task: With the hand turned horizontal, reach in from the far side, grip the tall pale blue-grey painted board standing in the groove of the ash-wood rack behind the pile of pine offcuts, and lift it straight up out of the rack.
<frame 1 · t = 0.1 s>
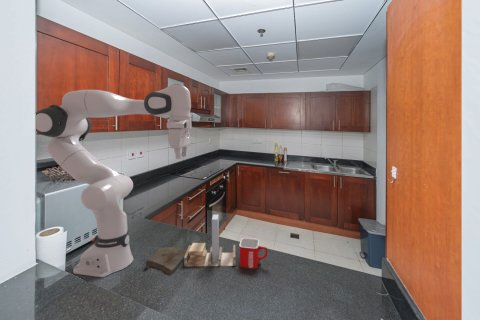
hand: (181, 157, 88), 48 cm above the worktop, tool pointing down, fingers open, 8 cm apart
mug: (253, 266, 92), on the worktop
offcut stack: (198, 259, 94), point 1 cm above the worktop, touching offcut rack
tall board: (215, 259, 94), point 1 cm above the worktop, touching offcut rack
brown flat slab: (166, 265, 93), on the worktop
offcut rack: (211, 262, 94), on the worktop
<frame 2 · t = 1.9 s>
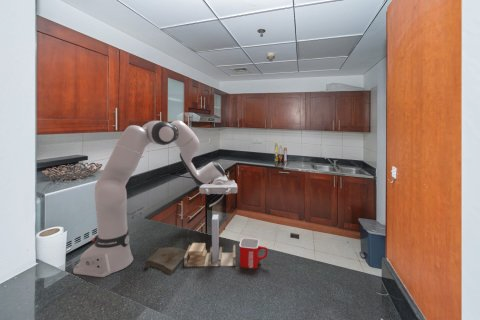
hand: (217, 193, 103), 29 cm above the worktop, tool horizontal, fingers open, 8 cm apart
nothing on the worktop moved.
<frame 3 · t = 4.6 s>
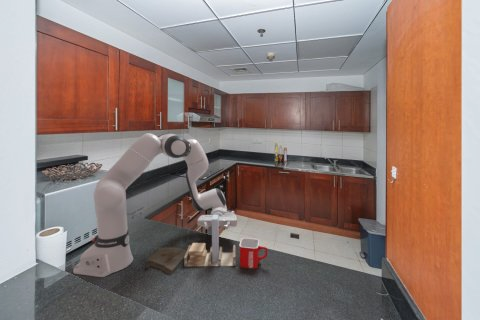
hand: (216, 227, 99), 13 cm above the worktop, tool horizontal, fingers open, 8 cm apart
nothing on the worktop moved.
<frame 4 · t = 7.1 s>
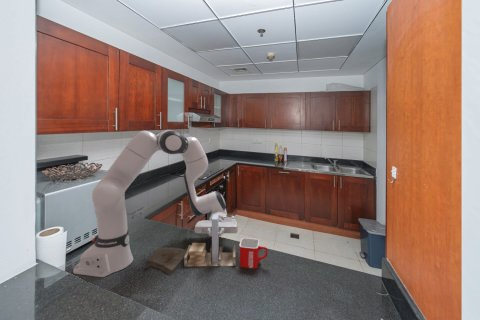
hand: (215, 234, 92), 14 cm above the worktop, tool horizontal, fingers closed on tall board, 2 cm apart
tall board: (215, 258, 94), point 2 cm above the worktop, touching gripper, offcut rack
everything else where it was.
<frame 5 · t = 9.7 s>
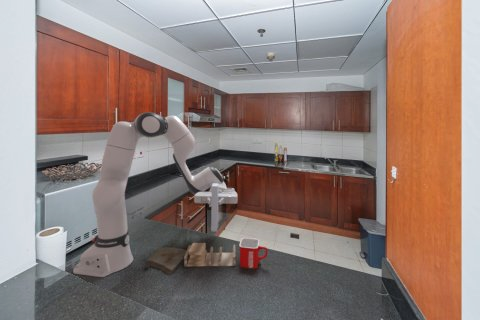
hand: (214, 203, 90), 28 cm above the worktop, tool horizontal, fingers closed on tall board, 2 cm apart
tall board: (214, 228, 92), point 16 cm above the worktop, touching gripper
everything else where it was.
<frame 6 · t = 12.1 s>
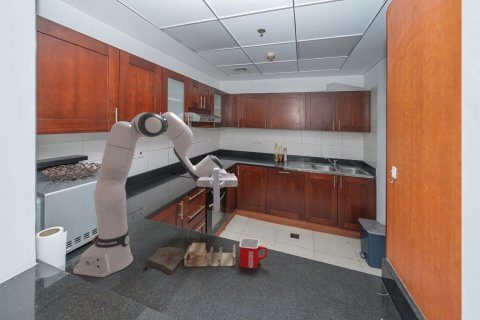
hand: (216, 185, 97), 34 cm above the worktop, tool horizontal, fingers closed on tall board, 2 cm apart
tall board: (216, 209, 99), point 22 cm above the worktop, touching gripper
everything else where it was.
at the end: the gripper is holding tall board; tall board point 21.9 cm above the worktop; offcut stack moved 0.0 cm from its start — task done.
